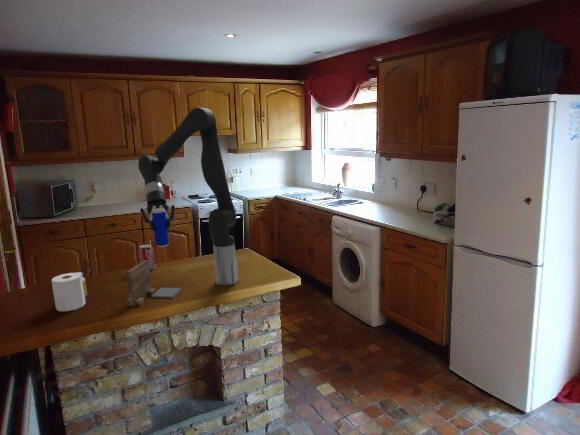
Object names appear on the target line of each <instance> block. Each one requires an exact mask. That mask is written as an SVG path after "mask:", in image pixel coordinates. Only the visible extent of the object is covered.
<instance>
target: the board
mask: <svg viewBox="0 0 580 435" xmlns="http://www.w3.org/2000/svg"><path fill="white" fill-rule="evenodd" d="M125 272H126V279H127V280H126V281H127V288H128V295H129V296H128V297H129V298H127V299H126V300H125V304H126V306H130V307H136V306H137V307H141V306H142V305H144V303H145V299H146V298H147V297H149V296H152V295H153V294H154V293H155V292H157V289H156V288H154V287H153V286H152V278H151V271H150V268H149V260H144V261H142V262H141V263H140V262H138V263H137V264H136V265H134V266H133V267H131V268H130V269H128V270H127V271H125Z"/></svg>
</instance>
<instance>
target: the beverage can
mask: <svg viewBox="0 0 580 435" xmlns="http://www.w3.org/2000/svg"><path fill="white" fill-rule="evenodd" d="M166 212H167V211H166ZM166 212H165V209H164V208H156V209H153V210H152V218H153V224H154V231H153V234H154V244H155V246H156V247H157V248H164V247H167V246H169V243H170V242H169V241H170V240H169V233H168V230H167V222H166Z"/></svg>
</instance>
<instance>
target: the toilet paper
mask: <svg viewBox="0 0 580 435" xmlns="http://www.w3.org/2000/svg"><path fill="white" fill-rule="evenodd" d="M82 275H83V274H82ZM82 275H81V274H79V273H77V272H68V273H64V274H60V275H57V276H56V275H55V276H54V277H53V278H52V279H51V285H52V286H51V287H52V293H53V299H54V303H55V309H56V310H57V311H58V312H70V311H75V310H78V309H81V308H82V307H84V306H85V304H86V302H87V301H86V298H85V297H86V296H85V295H84V288H83V281H82V277H83V276H82Z"/></svg>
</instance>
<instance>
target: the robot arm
mask: <svg viewBox="0 0 580 435" xmlns="http://www.w3.org/2000/svg"><path fill="white" fill-rule="evenodd" d="M197 132H199V134H200V135H199V136H200V138H201V144H202V147H201V156H200V166H201V170H202V175H203V178H204V181H205V183H206V184H207V186H208V188H209V189H210V190H211V191H212V193H213V194H214V196H215V199H216V203H217V208H215V209H213V210H211V211H210V213H209V215H208V227H209V233H210V239H211V241H212V247H213V248H212V249H213V261H214V274H215V284H216V285H219V286H231V285H236V283H237V282H238V281H239V270H238V269H239V268H238V259H237V258H236V246H235V245H236V243H235V241H236V240H235V237H234V236H233V235H230V234H229V229H228V228H231V227H233V226H234V225H235V224H236V223H237V213H236V209H235V206H234V203H233V200H232V199H233V198H232V196H231V194H230V188H229V184H228V180H227V176H226V171H225V170H226V168H225V166H224V160H223V156H222V153H221V151H222V150H221V148H220V142H219V137H218V128H217V120H216V115H215V114H214V112H213V111H212V110H211V109H209V108H206V107H194V108H193V109H191V110H190V111H189V112H188V114H187V115H186V116H185V117H184V119H183V120H182V121H181V123H180V124H179V126H177V128H176V129H175V130H174V131H173V132H172V133H171V134H170V135H169V136H168V137H167V138H165V140H164V141H163V142H161V144H159V146H157V147H156V149H155V150H154V153H155V154H154V155H155V156H156V158H155V157H154V156H152V155H149V154H143V155H140V157H139V159H138V162H137V167H138V170H139V173H140V174H141V177H142V179H143V180H144V188H145V191H144V192H145V198H146V204H147V205H146V208H143V207H141V208H139V213H140V215H141V218H142V221H143V222H144V223H145V224H149V229H150V230H151V231H152V232H154V224H153V218H152V210H153V209H156V208H164V209H165V212H166V222H167V231H168V230H170V228H171V224H172V223H171V222H172V221H174V219H175V211H176V210H175V209H176V207H175V205H174V204H172V205H168V204H167V199H166V193H165V192H166V191H165V189H164V185H163V181H162V177H161V175H160V174H161V173H162V172H163V170H164V169H165V167H166V166H167V163H168V162H169V161H170V160H171V159H172V158H174V156H175V155H176V154H177V153H178V152H179V151H180V150H181V149H182V147H183V146H184V144H185V143H186V141H187V140H188V139H189V138H190V137H191V136H192V135H194V134H195V133H197ZM167 211H169V212H170V215H168V213H167ZM147 213H149V215H150V216H149V218H148V217H147Z"/></svg>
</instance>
